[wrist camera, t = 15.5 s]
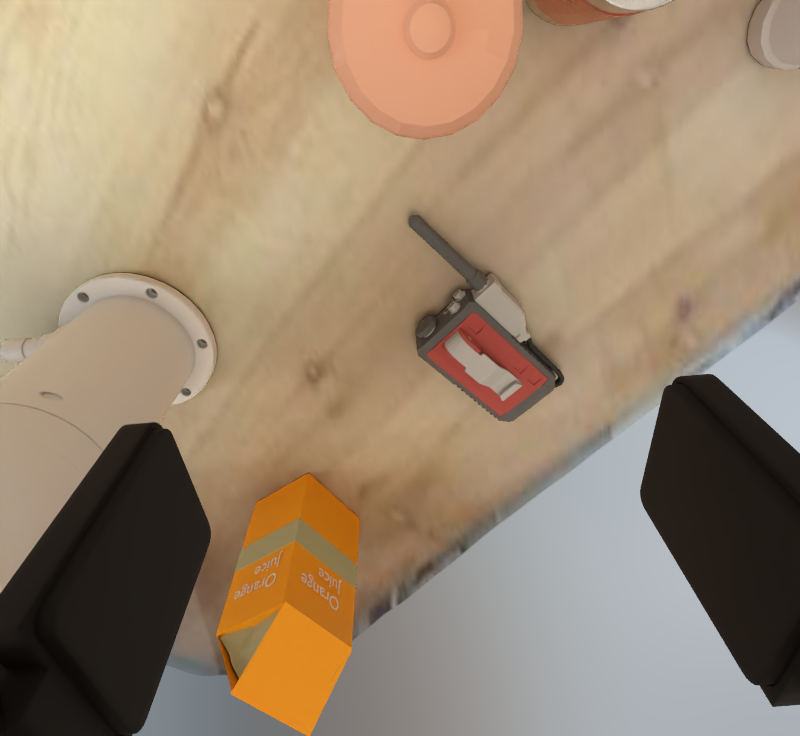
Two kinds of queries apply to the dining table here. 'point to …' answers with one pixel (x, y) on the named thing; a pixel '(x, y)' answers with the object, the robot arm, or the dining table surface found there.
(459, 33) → the salt shaker
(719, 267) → the dining table surface
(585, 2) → the tin can
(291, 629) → the orange juice
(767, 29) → the bottle
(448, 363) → the walkie-talkie
